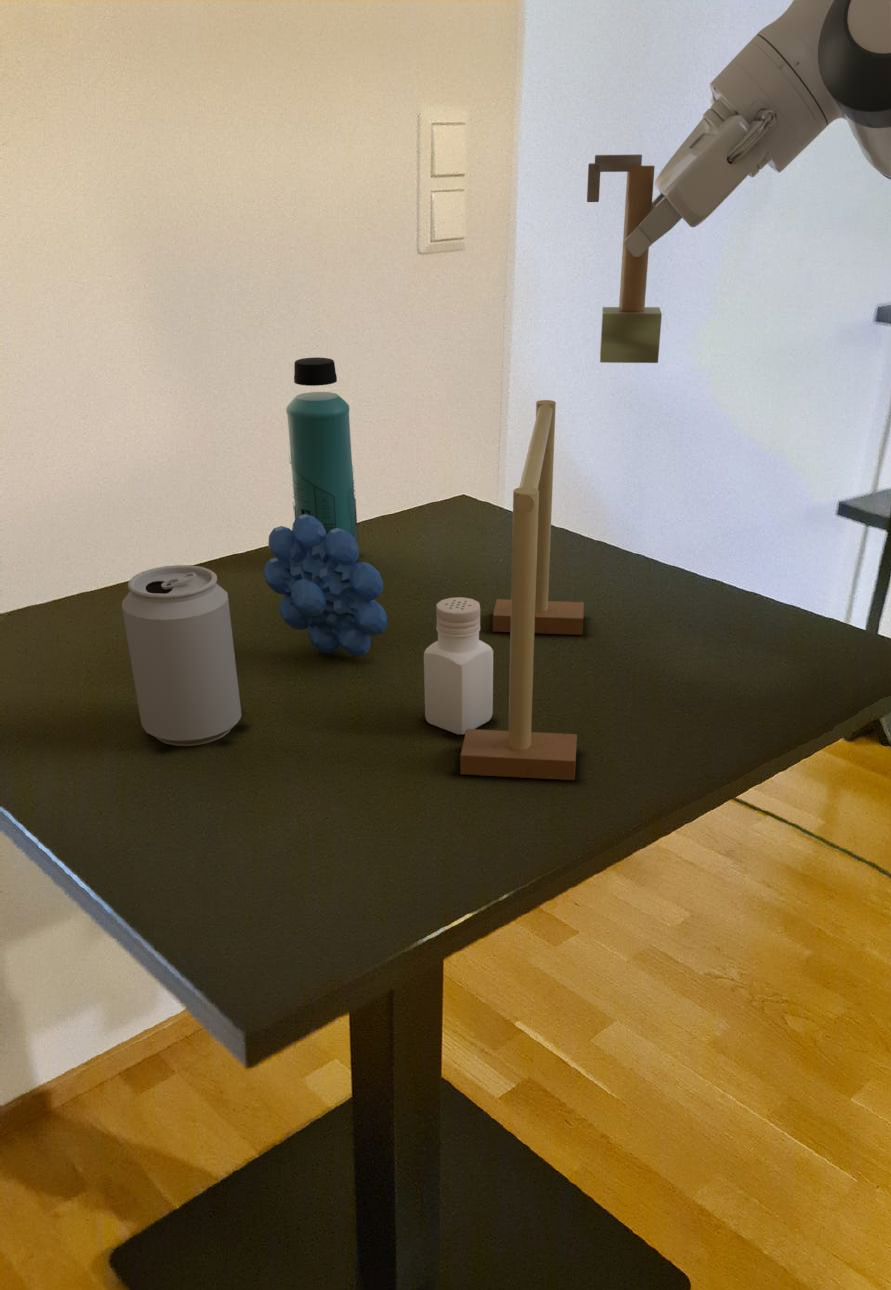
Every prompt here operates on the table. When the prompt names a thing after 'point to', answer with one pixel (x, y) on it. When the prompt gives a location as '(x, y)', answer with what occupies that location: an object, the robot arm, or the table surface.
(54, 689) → the table surface
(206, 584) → the can
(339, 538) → the grapes
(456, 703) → the pepper shaker
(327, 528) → the beverage bottle
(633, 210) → the hook hanger stand
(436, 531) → the table surface
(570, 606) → the wooden dowel stand
